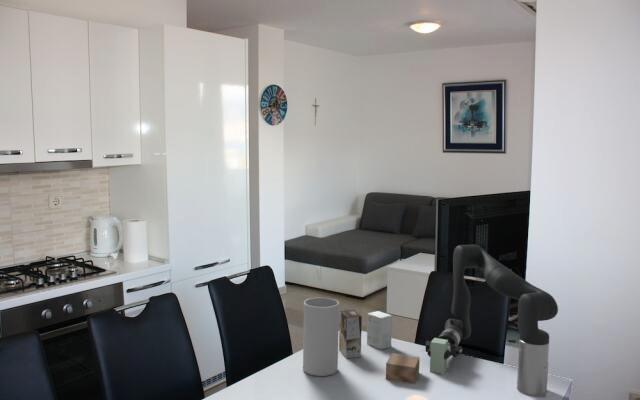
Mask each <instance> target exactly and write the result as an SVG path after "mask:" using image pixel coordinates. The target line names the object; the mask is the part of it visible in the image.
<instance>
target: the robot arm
mask: <svg viewBox="0 0 640 400" xmlns="http://www.w3.org/2000/svg"><path fill="white" fill-rule="evenodd" d="M452 256H453V257H452V270H453V271H452V275H453V296H452V303H451V311H450V312H451V314H452V315H453V316H454V317H456V318H458V319H456V318H448V319H447V320H446V321H445V324H444V330H443V331H442V332H441V333H440V334H439V336H438V337H437V338H439V339H445V340H448V349H447V351H446V352H445V353H444V359H447V360H448V359H449V358H451V357H453V358H456V357H458V356H459V355H462V354H463V346H461V345H459V344H460V342H461V341H462V340H467V339H469V338H470V336H471V334H472V326H471V319H470V309H471V308H470V307H471V302H472V301H471V300H472V296H471V293H470V289H469V287H468V285H467V283H466V280H465V269H479V270H480V271H482V272H484V274H483V275H484V280H485V282H486V283H487V285H488V286H489V287H490V288H492V289H493V290H494V291H496V292H497V293H498V294H500V295H502V296H505V297H508V298H510V299H514V300H517V301H518V303H517V330H518V332H519V333H518V334H519V341H518V345H519V346H518V358H517V359H518V362H517V378H516V379H517V380H516V381H517V382H516V388H517V389H516V390H518V391H519V392H520V393H522V394H524V395H527V396H532V397H546V395H547V391H548V377H549V351H550V349H549V347H550V346H549V345H550V333H548V332H547V331H545V330H543V329H541V328H539V322H544V321H549V320H551V319H552V320H553V319H554V318H555V317H557V314H558V311H559V305H558V304H557V301H556V299H555V297H553V296H552V294H550V293H549V292H547V291H546V290H543V289H541V288H539V287H537V286H535V285H533V284H532V283H530V282H528V281H527V280H526V279H524V278H523V277H521V276H520V275H518V274H516V273H515V272H514V271H513V270H511V269H510V268H509V267H507V266H505V265H504V264H502V263H500V261H498V260H496V259H495V258H493V256H491V255H490V254H489V253H488V252H487V251H486V250H485V249H484V248H482V247H481V246H480V245H478V244H460V245H457V246H456V247H455V248H454V251H453V255H452ZM424 351H425V352H426V353H427V355H428V357H429V358H430V357H431V341H430V340H429V339H428V340H425V350H424Z"/></svg>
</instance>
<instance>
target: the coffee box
mask: <svg viewBox="0 0 640 400" xmlns="http://www.w3.org/2000/svg"><path fill="white" fill-rule="evenodd" d="M362 319H363V318H362V315H361V314H360V313H359V312H357V311H356V310H355V309H349V310H348V309H347V310H339V325H338V352H340V353H341V354H342V355H343V356H344V357H345V358H346V359H351V358H361V356H362V321H363V320H362Z"/></svg>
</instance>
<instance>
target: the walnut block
mask: <svg viewBox="0 0 640 400" xmlns="http://www.w3.org/2000/svg"><path fill="white" fill-rule="evenodd" d="M420 358H421V357H420V356H413V355H405V354H399V353H391V354H390V356H389V358H388V359H387V361H386V362H385V380H386V379H387V380H388V381H392V382H393V381H394V382H400V383H407V384H414V385H415V383H416V381H417V378H418V377H419V375H420Z"/></svg>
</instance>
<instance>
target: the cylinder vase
mask: <svg viewBox="0 0 640 400" xmlns="http://www.w3.org/2000/svg"><path fill="white" fill-rule="evenodd" d="M339 309H340V302H339V300H337V299H334V298H331V297H330V298H329V297H313V298H312V297H311V298H307V299H305V300H304V301H303V338H302V339H303V341H302V343H303V346H302V348H303V349H302V350H303V351H302V352H303V353H302V355H303V356H302V358H303V359H302V369H303V372H305V373H306V374H308V375H311V376H313V377H328V376H331V375H333V374H335V373H337V371H338V369H339V318H340V310H339Z"/></svg>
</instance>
